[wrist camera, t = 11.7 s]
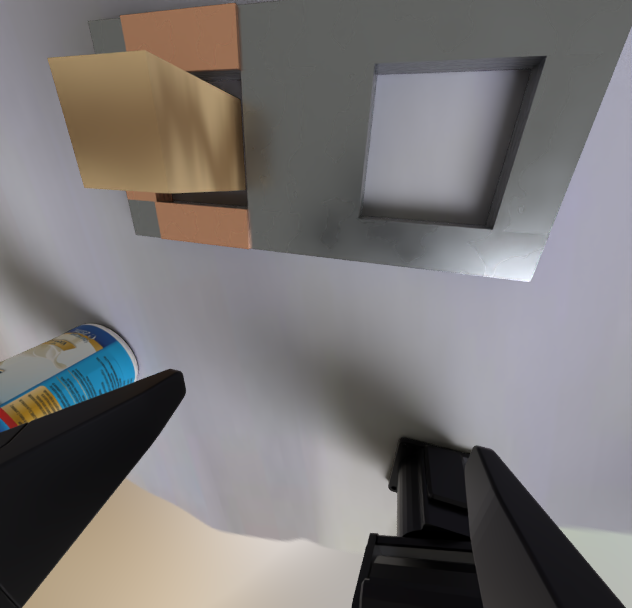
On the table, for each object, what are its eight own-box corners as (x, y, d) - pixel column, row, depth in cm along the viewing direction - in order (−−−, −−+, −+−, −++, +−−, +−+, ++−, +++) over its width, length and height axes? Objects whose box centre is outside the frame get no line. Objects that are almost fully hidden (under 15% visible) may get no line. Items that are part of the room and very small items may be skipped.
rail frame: (519, 273, 16) (531, 283, 14) (151, 231, 22) (133, 235, 20) (626, -13, 11) (662, -45, 9) (112, 33, 17) (84, 19, 15)
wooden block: (246, 190, 19) (169, 193, 12) (183, 186, 20) (84, 187, 14) (240, 100, 16) (145, 50, 10) (171, 101, 18) (47, 57, 11)
